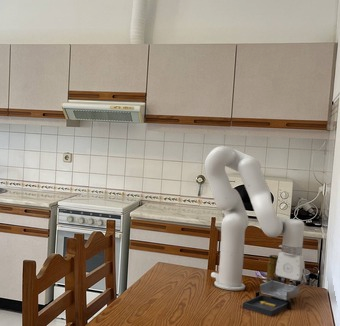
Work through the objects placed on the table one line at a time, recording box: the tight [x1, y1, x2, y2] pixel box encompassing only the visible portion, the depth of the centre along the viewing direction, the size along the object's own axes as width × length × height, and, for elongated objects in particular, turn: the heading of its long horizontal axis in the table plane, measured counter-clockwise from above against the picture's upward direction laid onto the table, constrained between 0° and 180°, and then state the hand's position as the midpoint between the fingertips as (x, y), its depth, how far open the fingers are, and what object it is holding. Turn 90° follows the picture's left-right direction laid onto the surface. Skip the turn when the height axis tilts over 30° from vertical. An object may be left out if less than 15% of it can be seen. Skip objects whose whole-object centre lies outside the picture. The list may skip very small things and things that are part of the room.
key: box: [260, 301, 276, 307], centre depth 187 cm, size 6×2×1 cm, turn 51°
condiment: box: [261, 254, 280, 283], centre depth 218 cm, size 7×8×12 cm
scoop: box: [259, 280, 300, 301], centre depth 195 cm, size 11×17×4 cm
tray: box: [242, 294, 288, 317], centre depth 185 cm, size 11×15×2 cm
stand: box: [254, 290, 294, 310], centre depth 192 cm, size 13×10×3 cm
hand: (288, 294), depth 200 cm, fingers closed
